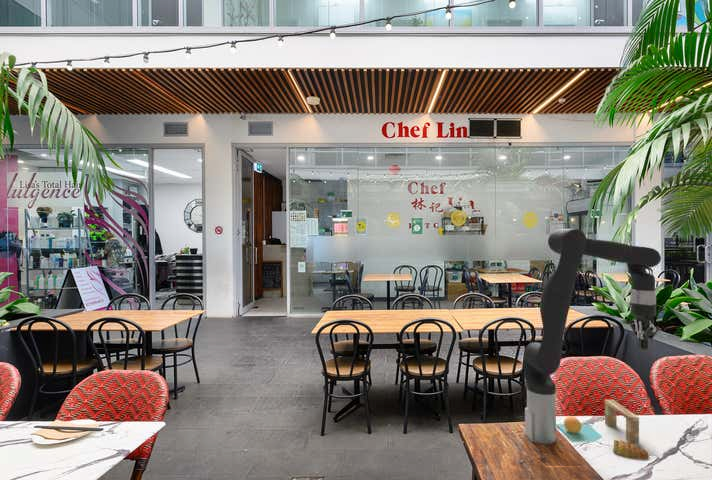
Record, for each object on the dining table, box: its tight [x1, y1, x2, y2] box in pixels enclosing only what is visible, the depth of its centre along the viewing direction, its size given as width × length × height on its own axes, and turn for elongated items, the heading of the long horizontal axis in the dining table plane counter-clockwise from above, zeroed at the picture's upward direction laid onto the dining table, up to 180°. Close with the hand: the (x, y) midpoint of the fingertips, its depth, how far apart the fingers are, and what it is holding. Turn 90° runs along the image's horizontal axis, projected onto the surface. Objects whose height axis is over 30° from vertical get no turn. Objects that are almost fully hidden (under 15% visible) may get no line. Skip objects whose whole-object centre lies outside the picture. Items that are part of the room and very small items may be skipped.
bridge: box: [604, 399, 640, 444], centre depth 139 cm, size 3×14×9 cm, turn 177°
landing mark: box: [556, 423, 603, 442], centre depth 140 cm, size 12×12×1 cm
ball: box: [563, 416, 581, 434], centre depth 140 cm, size 6×6×6 cm
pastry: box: [612, 439, 649, 460], centre depth 126 cm, size 9×7×4 cm
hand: (643, 348), depth 143 cm, fingers closed
